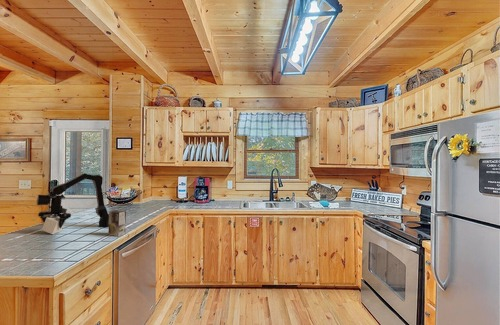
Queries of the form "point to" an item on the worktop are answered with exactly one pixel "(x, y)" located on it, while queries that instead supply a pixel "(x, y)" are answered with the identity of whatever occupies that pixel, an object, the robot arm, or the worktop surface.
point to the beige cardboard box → (52, 225)
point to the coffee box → (117, 222)
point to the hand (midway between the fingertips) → (53, 227)
